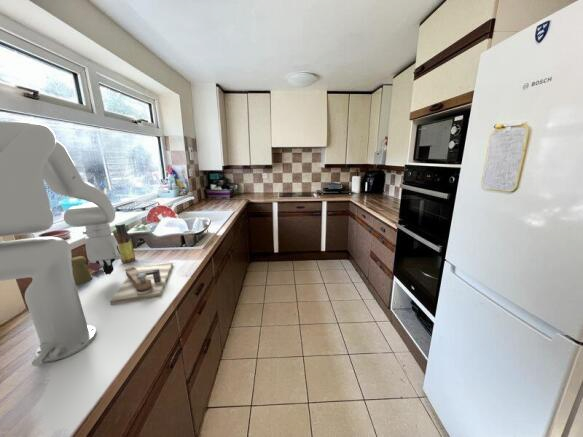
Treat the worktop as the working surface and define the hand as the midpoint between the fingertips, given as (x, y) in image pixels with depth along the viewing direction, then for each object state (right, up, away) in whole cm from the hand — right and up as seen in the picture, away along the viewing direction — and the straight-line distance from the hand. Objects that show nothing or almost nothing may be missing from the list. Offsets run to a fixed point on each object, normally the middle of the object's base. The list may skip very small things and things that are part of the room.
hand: (109, 273), depth 100 cm
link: (+15, -2, -4) cm, 16 cm away
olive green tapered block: (-13, -4, +2) cm, 13 cm away
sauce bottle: (-6, +1, +21) cm, 22 cm away
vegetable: (-14, -2, +11) cm, 17 cm away
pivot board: (+16, -4, -1) cm, 17 cm away
